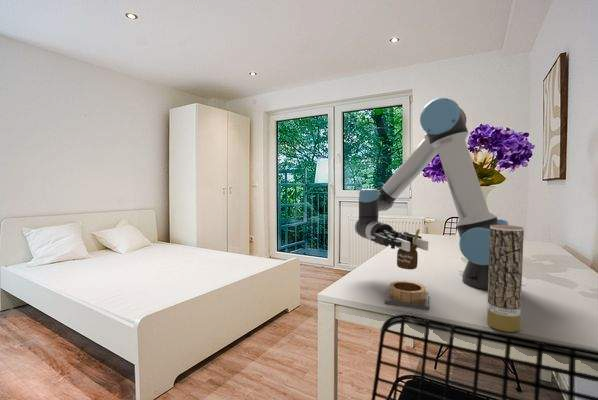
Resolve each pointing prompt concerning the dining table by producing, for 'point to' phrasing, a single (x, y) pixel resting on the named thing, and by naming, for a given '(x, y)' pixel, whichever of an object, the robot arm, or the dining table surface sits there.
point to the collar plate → (407, 295)
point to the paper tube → (505, 277)
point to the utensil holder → (408, 255)
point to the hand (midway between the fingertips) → (418, 246)
